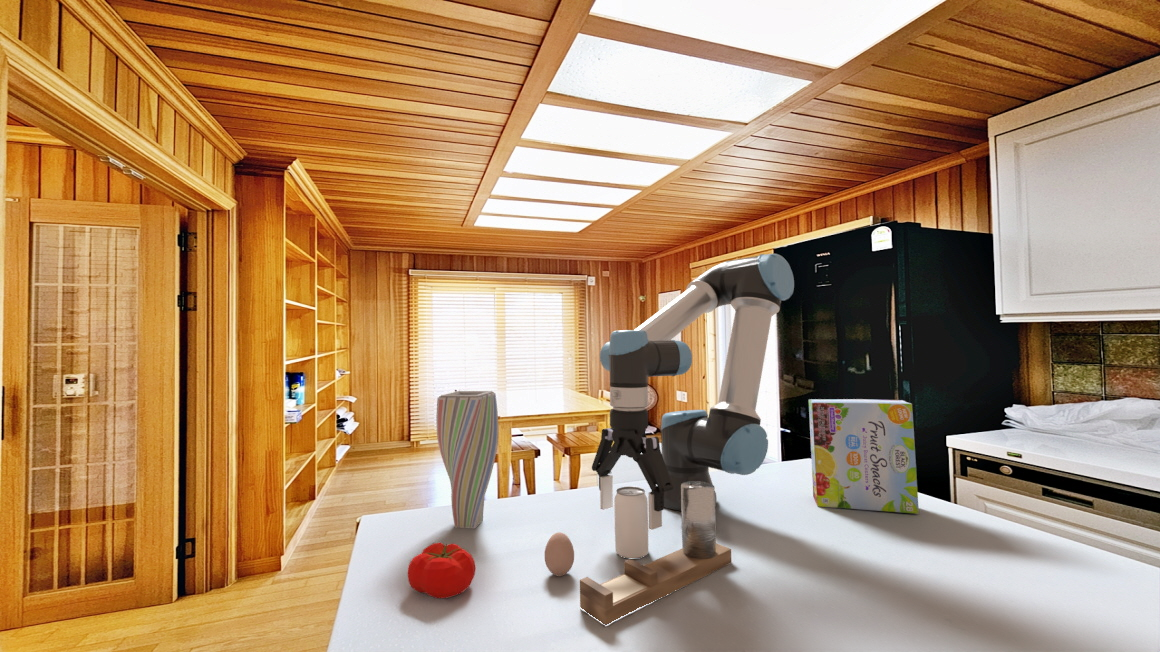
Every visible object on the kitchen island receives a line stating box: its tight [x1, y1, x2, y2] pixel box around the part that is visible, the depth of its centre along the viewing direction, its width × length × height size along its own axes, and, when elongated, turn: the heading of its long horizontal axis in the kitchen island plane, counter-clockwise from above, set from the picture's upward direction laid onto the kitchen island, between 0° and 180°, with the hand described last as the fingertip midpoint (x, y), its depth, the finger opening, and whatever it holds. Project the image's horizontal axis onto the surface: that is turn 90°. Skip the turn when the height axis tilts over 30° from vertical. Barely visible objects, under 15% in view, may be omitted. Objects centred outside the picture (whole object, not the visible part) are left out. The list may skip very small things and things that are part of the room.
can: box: [614, 485, 649, 559], centre depth 94 cm, size 6×6×12 cm
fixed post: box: [681, 481, 717, 560], centre depth 88 cm, size 6×6×12 cm
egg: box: [544, 531, 575, 577], centre depth 85 cm, size 5×5×7 cm
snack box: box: [808, 398, 920, 515], centre depth 117 cm, size 22×9×26 cm, turn 71°
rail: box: [579, 542, 732, 625], centre depth 81 cm, size 6×31×4 cm, turn 128°
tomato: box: [407, 542, 476, 599], centre depth 81 cm, size 10×11×6 cm
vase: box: [435, 390, 499, 529], centre depth 110 cm, size 14×14×30 cm
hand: (629, 517), depth 93 cm, fingers open, 13 cm apart
